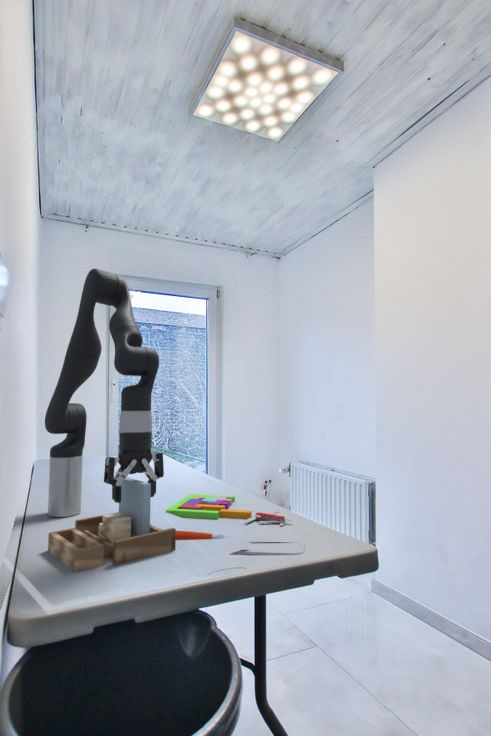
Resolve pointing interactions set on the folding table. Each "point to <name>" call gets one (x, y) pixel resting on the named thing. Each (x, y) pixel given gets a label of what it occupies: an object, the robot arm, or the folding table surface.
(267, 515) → the swiss army knife
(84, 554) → the stand
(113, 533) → the offcut mid
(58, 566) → the folding table surface
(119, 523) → the offcut short
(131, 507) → the panel
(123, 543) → the rack
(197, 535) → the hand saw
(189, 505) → the toy blocks
